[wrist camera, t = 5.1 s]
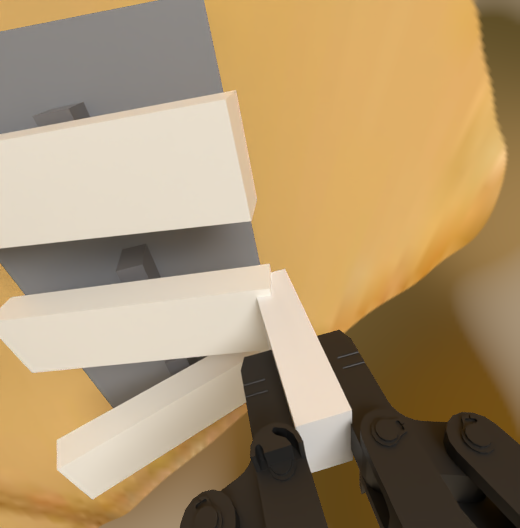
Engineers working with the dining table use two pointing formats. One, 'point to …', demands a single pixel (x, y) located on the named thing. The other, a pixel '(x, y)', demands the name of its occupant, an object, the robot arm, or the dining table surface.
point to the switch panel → (106, 102)
